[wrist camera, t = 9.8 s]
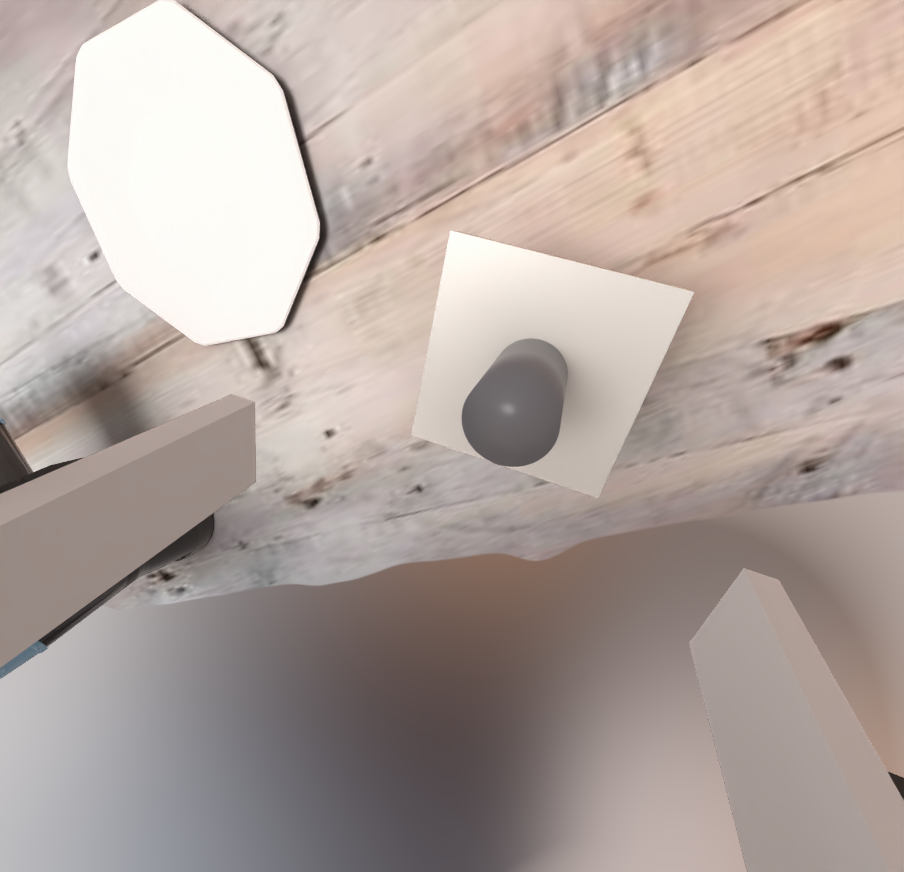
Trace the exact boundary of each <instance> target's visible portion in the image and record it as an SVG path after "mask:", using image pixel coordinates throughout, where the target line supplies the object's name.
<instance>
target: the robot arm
mask: <svg viewBox="0 0 904 872" xmlns="http://www.w3.org/2000/svg"><path fill="white" fill-rule="evenodd" d="M5 425H6V422H5V421H4V420H3V419H1V418H0V678H2V677H4V676H6V675H7V674H8V673H10V672H12V671H13V670H15V669H16V668H17V667H19V666H20V665H22V664H23V663H25V662H26V661H28V660H29V659H31V658H32V657H34V656H35V655H37V654H38V653H42V652H43V651H45V650H46V649H47V647H48V646H49V645H50V644H52V643H53V642H54V641H56V640H57V639H58V638H60V637H61V636H62V635H63V634H65V633H66V632H67V631H69V630H70V629H71V628H73V627H74V626H75V625H77V624H78V623H79V622H80V621H82V620H83V619H84V618H86V617H87V616H88V615H90V614H91V613H92V612H93V611H95V610H96V609H98V608H99V607H100V606H102V605H103V604H104V603H106V602H107V601H108V600H110V599H111V598H112V597H113V596H115V595H116V594H117V593H119V592H120V591H121V590H123V589H124V588H125V587H126V586H128V585H129V584H131V583H132V582H133V581H135V580H136V579H137V578H139V577H140V576H143V575H145V574H147V573H150V572H152V571H155V570H157V569H159V568H161V567H163V566H165V565H167V564H169V563H171V562H173V561H180V560H183V559H185V558H187V557H189V556H191V555H193V554H194V553H195V552H196V551H198V550H199V549H200V548H202V547H203V546H204V545H205V544H206V543H207V542H208V541H209V539H210V538H211V535H212V532H213V518H212V513H214V512H215V511H217V510H218V509H219V508H221V507H222V506H223V505H225V504H226V503H228V502H229V501H230V500H232V499H233V498H234V497H236V496H237V495H239V494H240V493H241V492H243V491H244V490H245V489H247V488H248V487H250V486H251V485H252V484H254V483H255V482H256V445H255V402H253V401H250V400H247V399H244V398H241V397H238V396H235V395H232V394H231V395H229V396H226V397H224V398H222V399H219V400H217V401H215V402H212V403H210V404H208V405H205V406H203V407H201V408H199V409H196V410H194V411H192V412H189V413H187V414H185V415H182V416H180V417H178V418H175V419H173V420H171V421H168V422H166V423H164V424H161V425H159V426H157V427H154V428H152V429H150V430H147V431H145V432H143V433H140V434H138V435H136V436H134V437H131V438H129V439H127V440H124V441H122V442H120V443H117V444H115V445H113V446H110V447H108V448H106V449H103V450H101V451H99V452H96V453H94V454H92V455H89V456H87V457H85V458H80V459H75V460H71V461H67V462H63V463H59V464H54V465H50V466H48V467H46V468H43V469H41V470H38V471H36V472H34V473H33V471H32V469H31V468H30V466H29V464H28V463H27V461H26V459H25V458H24V456H23V455H22V453H21V451H20V450H19V448H18V446H17V445H16V443H15V442H14V440H13V438H12V437H11V435H10V433H9V432H8V430H7V428H6V427H5ZM689 646H690V650H691V654H692V658H693V662H694V666H695V670H696V674H697V678H698V682H699V685H700V689H701V693H702V697H703V701H704V705H705V709H706V713H707V717H708V721H709V725H710V728H711V733H712V737H713V740H714V744H715V748H716V752H717V756H718V760H719V764H720V768H721V772H722V776H723V780H724V784H725V788H726V792H727V795H728V800H729V803H730V807H731V811H732V815H733V819H734V823H735V827H736V831H737V835H738V839H739V843H740V847H741V851H742V855H743V858H744V863H745V866H746V870H747V872H904V778H903V777H900V776H898V775H895V774H893V773H890V772H887V770H886V768H885V767H884V765H883V763H882V761H881V760H880V758H879V756H878V754H877V753H876V751H875V749H874V747H873V745H872V744H871V742H870V740H869V738H868V737H867V735H866V733H865V731H864V730H863V728H862V726H861V724H860V722H859V721H858V719H857V717H856V715H855V714H854V712H853V710H852V709H851V707H850V705H849V703H848V701H847V700H846V698H845V696H844V694H843V693H842V691H841V689H840V687H839V685H838V684H837V682H836V680H835V678H834V677H833V675H832V673H831V671H830V670H829V668H828V666H827V664H826V663H825V661H824V659H823V657H822V656H821V654H820V652H819V650H818V649H817V647H816V645H815V643H814V641H813V640H812V638H811V636H810V634H809V633H808V631H807V629H806V627H805V625H804V624H803V622H802V620H801V618H800V617H799V615H798V613H797V611H796V610H795V608H794V606H793V604H792V603H791V601H790V599H789V597H788V595H787V594H786V592H785V590H784V588H783V587H782V585H781V583H780V582H779V580H777V579H774V578H771V577H769V576H765V575H763V574H760V573H757V572H754V571H751V570H748V569H745V568H744V569H743V570H742V571H741V573H740V574H739V575H738V577H737V578H736V579H735V581H734V582H733V584H732V585H731V586H730V588H729V589H728V590H727V592H726V593H725V595H724V596H723V597H722V599H721V600H720V601H719V603H718V604H717V605H716V607H715V608H714V610H713V611H712V612H711V614H710V615H709V617H708V618H707V619H706V621H705V622H704V623H703V625H702V626H701V628H700V629H699V630H698V632H697V633H696V634H695V636H694V637H693V639H692V640H691V641H690V643H689Z"/></svg>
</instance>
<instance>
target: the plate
mask: <svg viewBox="0 0 904 872" xmlns="http://www.w3.org/2000/svg"><path fill="white" fill-rule="evenodd" d="M67 167H68V172H69V176H70V181H71V183H72V185H73V187H74V189H75V192H76V194H77V196H78V198H79V200H80V203H81V205H82V207H83V209H84V211H85V214H86V216H87V218H88V220H89V222H90V224H91V227H92V229H93V231H94V233H95V235H96V238H97V240H98V242H99V244H100V246H101V249H102V251H103V253H104V255H105V257H106V259H107V262H108V264H109V266H110V268H111V270H112V273H113V275H114V277H115V279H116V280H117V282H118V283H119V284H120V285H121V287H122V288H123V289H124V290H125V291H126V292H128V293H129V294H130V295H132V296H133V297H134V298H136V299H137V300H138V301H140V302H141V303H142V304H144V305H145V306H146V307H148V308H149V309H150V310H152V311H153V312H154V313H156V314H157V315H159V316H160V317H161V318H163V319H164V320H165V321H167V322H168V323H169V324H171V325H172V326H173V327H175V328H176V329H177V330H179V331H180V332H181V333H183V334H184V335H185V336H187V337H188V338H190V339H191V340H192V341H194V342H195V343H197V344H201V345H204V346H207V345H213V344H218V343H224V342H229V341H234V340H240V339H245V338H251V337H256V336H262V335H267V334H272V333H276V332H278V331H279V330H280V329H282V328H283V327H284V326H285V324H286V321H287V319H288V317H289V314H290V312H291V309H292V307H293V304H294V302H295V299H296V297H297V294H298V292H299V290H300V287H301V285H302V282H303V280H304V277H305V275H306V272H307V270H308V268H309V265H310V263H311V260H312V258H313V255H314V253H315V250H316V248H317V246H318V243H319V241H320V238H321V221H320V217H319V213H318V210H317V206H316V203H315V199H314V195H313V192H312V188H311V184H310V181H309V177H308V174H307V170H306V166H305V163H304V159H303V156H302V152H301V148H300V145H299V141H298V138H297V134H296V130H295V127H294V123H293V120H292V116H291V112H290V109H289V105H288V102H287V98H286V94H285V91H284V90H283V88H282V87H281V85H280V83H279V82H278V80H277V79H276V77H275V76H274V75H273V74H271V73H270V72H269V71H267V70H266V69H265V68H263V67H262V66H261V65H260V64H258V63H257V62H256V61H254V60H253V59H252V58H250V57H249V56H248V55H246V54H245V53H244V52H242V51H241V50H240V49H238V48H237V47H236V46H234V45H233V44H232V43H231V42H229V41H228V40H227V39H225V38H224V37H223V36H221V35H220V34H219V33H217V32H216V31H215V30H213V29H212V28H211V27H209V26H208V25H207V24H206V23H204V22H203V21H202V20H200V19H199V18H198V17H196V16H195V15H194V14H192V13H191V12H190V11H188V10H187V9H186V8H184V7H183V6H182V5H180V4H179V3H178V2H176V1H175V0H158V1H156V2H154V3H153V4H151V5H149V6H147V7H146V8H144V9H142V10H140V11H139V12H137V13H135V14H134V15H132V16H130V17H128V18H127V19H125V20H123V21H121V22H120V23H118V24H116V25H115V26H113V27H111V28H109V29H108V30H106V31H104V32H102V33H101V34H99V35H97V36H96V37H94V38H92V39H90V40H89V41H87V42H85V43H83V44H82V46H81V48H80V50H79V52H78V54H77V57H76V66H75V78H74V90H73V102H72V114H71V126H70V139H69V151H68V163H67Z"/></svg>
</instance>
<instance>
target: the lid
mask: <svg viewBox="0 0 904 872" xmlns="http://www.w3.org/2000/svg"><path fill="white" fill-rule="evenodd" d="M693 294H694V292H693V291H691V290H688V289H684V288H680V287H677V286H673V285H669V284H665V283H661V282H657V281H653V280H649V279H645V278H641V277H637V276H633V275H629V274H625V273H621V272H617V271H613V270H609V269H605V268H601V267H597V266H593V265H589V264H585V263H582V262H578V261H574V260H570V259H566V258H562V257H558V256H554V255H550V254H546V253H542V252H538V251H534V250H530V249H526V248H522V247H518V246H514V245H510V244H506V243H502V242H498V241H494V240H490V239H487V238H483V237H479V236H475V235H471V234H467V233H463V232H459V231H453V230H450V235H449V240H448V245H447V251H446V256H445V261H444V266H443V271H442V277H441V282H440V287H439V292H438V298H437V303H436V308H435V313H434V318H433V324H432V329H431V334H430V339H429V344H428V350H427V355H426V360H425V365H424V371H423V376H422V381H421V386H420V391H419V397H418V402H417V407H416V412H415V418H414V423H413V428H412V433H411V435H412V436H415V437H418V438H421V439H424V440H427V441H430V442H433V443H436V444H439V445H442V446H445V447H448V448H451V449H454V450H456V451H459V452H462V453H465V454H468V455H471V456H474V457H477V458H480V459H483V460H486V461H489V462H492V463H495V464H498V465H501V466H504V467H507V468H509V469H512V470H515V471H518V472H521V473H524V474H527V475H530V476H533V477H536V478H539V479H542V480H545V481H548V482H551V483H554V484H557V485H560V486H562V487H565V488H568V489H571V490H574V491H577V492H580V493H583V494H586V495H589V496H592V497H595V498H598V497H599V495H600V493H601V491H602V489H603V487H604V485H605V482H606V480H607V478H608V476H609V474H610V472H611V470H612V467H613V465H614V463H615V461H616V459H617V457H618V455H619V452H620V450H621V448H622V446H623V444H624V442H625V440H626V437H627V435H628V433H629V431H630V429H631V427H632V425H633V422H634V420H635V418H636V416H637V414H638V412H639V410H640V408H641V405H642V403H643V401H644V399H645V397H646V395H647V393H648V390H649V388H650V386H651V384H652V382H653V380H654V378H655V375H656V373H657V371H658V369H659V367H660V365H661V363H662V360H663V358H664V356H665V354H666V352H667V350H668V348H669V345H670V343H671V341H672V339H673V337H674V335H675V333H676V330H677V328H678V326H679V324H680V322H681V320H682V318H683V315H684V313H685V311H686V309H687V307H688V305H689V303H690V300H691V298H692V296H693Z"/></svg>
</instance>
